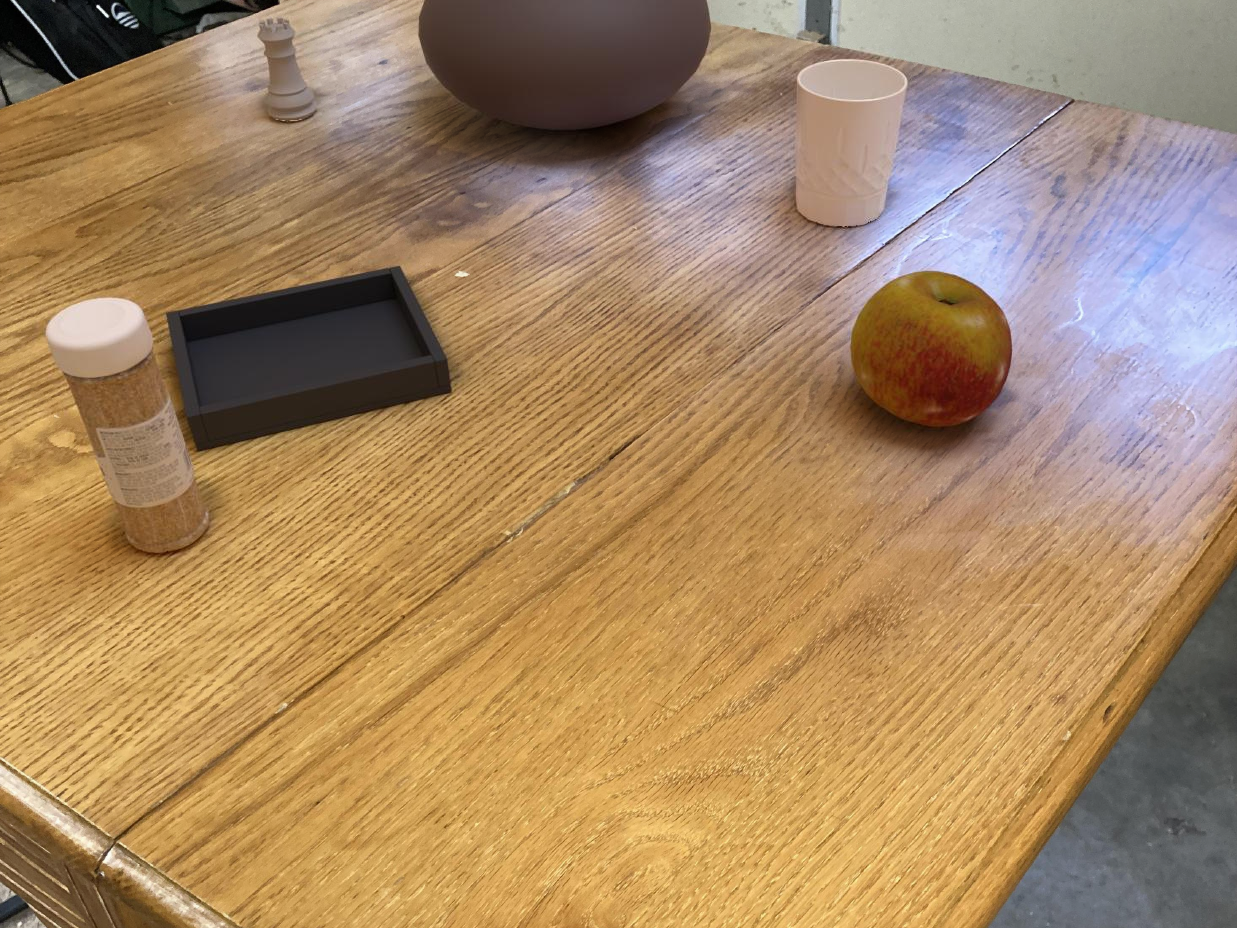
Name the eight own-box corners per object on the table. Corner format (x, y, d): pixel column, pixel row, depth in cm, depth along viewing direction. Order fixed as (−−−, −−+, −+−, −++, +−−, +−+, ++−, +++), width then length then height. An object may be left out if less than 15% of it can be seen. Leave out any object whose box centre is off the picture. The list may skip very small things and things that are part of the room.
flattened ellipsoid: (518, 47, 121) (504, -118, 111) (751, 84, 113) (758, -90, 103) (374, 141, 105) (343, -42, 95) (634, 194, 96) (630, -1, 86)
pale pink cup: (780, 226, 92) (789, 96, 85) (795, 181, 97) (804, 55, 91) (886, 236, 90) (903, 104, 84) (895, 190, 96) (911, 63, 89)
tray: (197, 451, 72) (186, 417, 70) (175, 345, 81) (165, 312, 79) (452, 392, 76) (447, 358, 74) (405, 297, 85) (399, 265, 83)
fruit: (1033, 419, 73) (1061, 303, 67) (918, 471, 69) (938, 352, 64) (924, 346, 79) (943, 234, 74) (814, 390, 76) (825, 276, 70)
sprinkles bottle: (133, 508, 68) (52, 298, 59) (216, 498, 69) (148, 289, 60) (121, 563, 65) (33, 349, 56) (209, 551, 65) (136, 338, 56)
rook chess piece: (264, 108, 111) (244, 18, 105) (313, 101, 112) (296, 11, 106) (271, 127, 107) (250, 34, 102) (322, 119, 108) (304, 27, 103)
